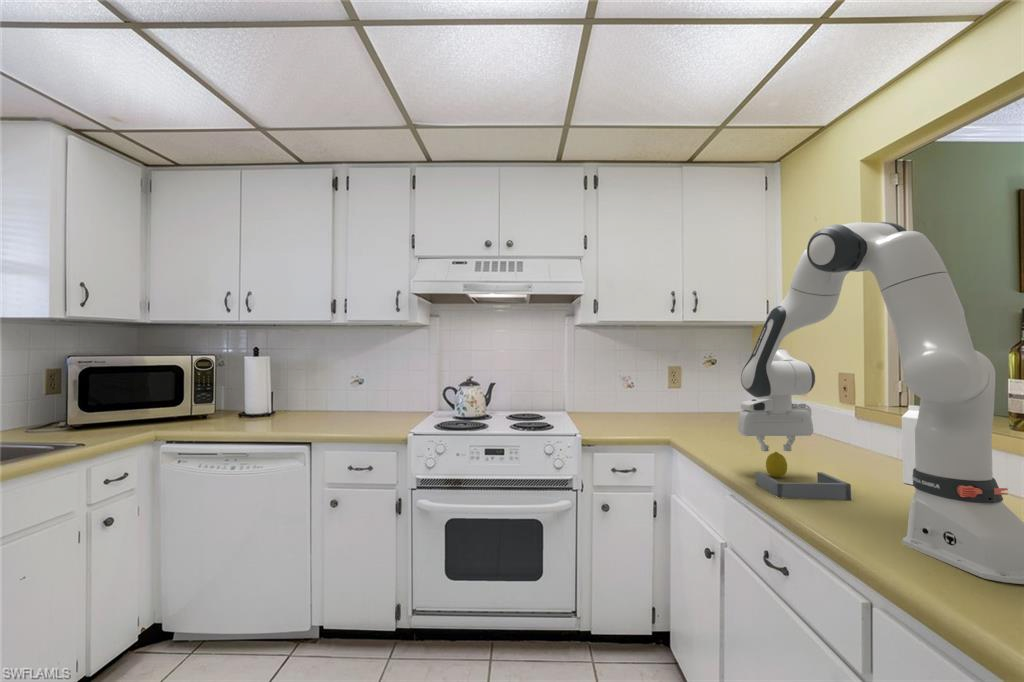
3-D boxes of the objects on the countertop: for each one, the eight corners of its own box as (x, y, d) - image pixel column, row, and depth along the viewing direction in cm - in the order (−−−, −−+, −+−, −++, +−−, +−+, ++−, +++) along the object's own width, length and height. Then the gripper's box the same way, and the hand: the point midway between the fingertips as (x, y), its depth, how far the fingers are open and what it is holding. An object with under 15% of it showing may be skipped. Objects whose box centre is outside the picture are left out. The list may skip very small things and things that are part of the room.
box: (851, 500, 119) (850, 484, 119) (777, 499, 120) (777, 483, 120) (822, 486, 131) (821, 472, 131) (755, 486, 132) (755, 471, 132)
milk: (926, 488, 129) (924, 407, 129) (902, 482, 135) (900, 405, 135) (941, 486, 131) (939, 406, 131) (917, 480, 137) (915, 404, 137)
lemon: (790, 482, 136) (789, 454, 136) (769, 481, 137) (768, 453, 137) (783, 477, 141) (783, 450, 141) (763, 476, 142) (763, 449, 143)
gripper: (804, 402, 143) (806, 448, 142) (735, 403, 144) (736, 449, 143) (817, 404, 136) (818, 452, 136) (744, 405, 137) (745, 453, 137)
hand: (776, 451), depth 139 cm, fingers open, 5 cm apart
